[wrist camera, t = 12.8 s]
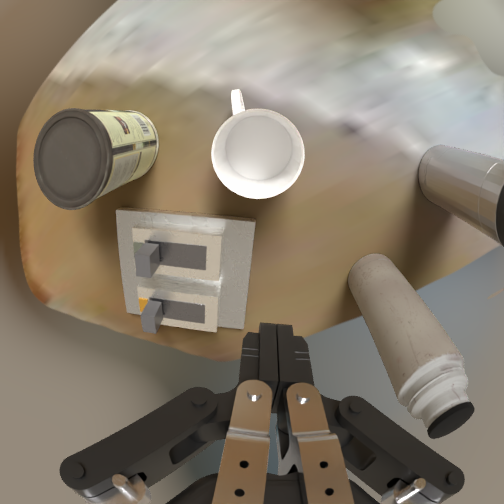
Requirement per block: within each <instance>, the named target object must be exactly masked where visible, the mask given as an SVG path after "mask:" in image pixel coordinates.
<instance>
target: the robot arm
mask: <svg viewBox="0 0 504 504" xmlns="http://www.w3.org/2000/svg"><path fill="white" fill-rule="evenodd" d="M418 175H419V184H420V188H421V190H422V192H423V194H424V195H425V197H426V198H427V199H428V200H429V201H431V202H433V203H435V204H436V205H438V206H440V207H442V208H443V209H445V210H447V211H448V212H450V213H452V214H453V215H455V216H457V217H458V218H460V219H462V220H463V221H465V222H467V223H468V224H470V225H471V226H473V227H475V228H476V229H478V230H479V231H481V232H482V233H484V234H485V235H487V236H488V237H490V238H492V239H493V240H495V241H496V242H497V243H499V244H500V245H502V246H503V247H504V160H502V159H499V158H495V157H491V156H488V155H484V154H480V153H476V152H472V151H468V150H463V149H459V148H455V147H450V146H445V145H438V146H434V147H432V148H431V149H429V150H428V151H427V152H426V154H425V155H424V156H423V158H422V160H421V163H420V167H419V174H418ZM271 413H277V423H276V427H275V429H276V439H277V448H278V457H279V468H278V475H275V474H270V473H267V465H268V455H269V444H270V436H269V426H270V415H271ZM221 439H226V440H225V445H224V450H223V455H222V459H221V464H220V469H219V473H215V474H211V475H208V476H205V477H203V478H200V479H199V480H197V481H195V482H194V483H193V484H191V485H190V486H189V487H187V488H186V489H185V490H183V491H182V492H181V493H180V494H178V495H177V496H176V497H174V498H173V499H171V500H170V501H169V502H167V503H166V504H380V503H378V502H377V501H376V500H375V499H374V498H372V497H371V496H370V495H369V494H367V493H366V492H365V491H364V490H363V489H362V488H361V487H359V486H358V485H357V484H356V483H355V482H353V481H352V480H350V479H348V475H347V471H346V468H347V469H348V470H350V471H351V472H352V473H353V474H354V475H356V476H357V477H358V478H359V479H361V480H362V481H363V482H365V483H366V484H367V485H368V486H369V487H371V488H372V489H373V490H375V491H376V492H377V493H378V494H380V495H381V496H382V498H381V504H441V503H442V502H443V501H444V500H446V499H448V498H449V497H451V496H453V495H454V494H456V493H457V492H459V491H460V490H461V489H462V487H463V485H464V480H465V479H464V474H463V472H462V471H461V469H459V468H458V467H457V466H455V465H454V464H452V463H451V462H449V461H448V460H446V459H445V458H443V457H442V456H440V455H439V454H437V453H436V452H435V451H433V450H432V449H431V448H429V447H428V446H426V445H425V444H424V443H422V442H421V441H419V440H418V439H416V438H415V437H414V436H412V435H411V434H410V433H408V432H407V431H406V430H404V429H403V428H401V427H400V426H399V425H397V424H396V423H395V422H393V421H392V420H391V419H389V418H388V417H387V416H385V415H384V414H383V413H381V412H380V411H379V410H377V409H376V408H375V407H374V406H372V405H371V404H370V403H368V402H367V401H366V400H364V399H363V398H361V397H358V396H349V397H346V398H344V399H343V400H342V401H337V400H333V399H330V398H327V397H324V396H323V395H321V394H320V393H319V391H318V390H317V388H315V386H314V382H313V375H312V369H311V363H310V357H309V350H308V345H307V343H306V341H305V340H304V339H303V337H302V336H293V328H292V325H284V324H271V323H260V326H259V333H252V332H248V333H247V335H246V336H245V337H244V339H243V345H242V354H241V364H240V374H239V382H238V385H237V386H236V387H235V388H234V389H233V390H231V391H229V392H226V393H220V394H214V393H213V392H212V391H210V390H208V389H206V388H202V387H194V388H191V389H188V390H186V391H185V392H183V393H182V394H180V395H179V396H177V397H175V398H174V399H172V400H171V401H169V402H167V403H166V404H164V405H163V406H161V407H159V408H158V409H156V410H154V411H153V412H151V413H149V414H148V415H146V416H144V417H143V418H141V419H139V420H137V421H136V422H134V423H132V424H130V425H129V426H127V427H125V428H123V429H121V430H120V431H118V432H116V433H114V434H112V435H110V436H109V437H107V438H105V439H103V440H101V441H99V442H97V443H95V444H93V445H92V446H90V447H88V448H86V449H84V450H82V451H80V452H78V453H76V454H73V455H71V456H69V457H67V458H66V459H65V460H64V461H63V462H62V464H61V466H60V476H61V478H62V480H63V481H64V482H65V484H66V485H67V486H69V487H70V488H72V489H73V490H74V492H76V493H77V494H78V495H80V496H81V497H82V498H84V500H85V501H86V503H87V504H150V502H151V492H150V490H149V487H150V486H152V485H154V484H155V483H157V482H158V481H160V480H161V479H163V478H164V477H166V476H168V475H169V474H171V473H172V472H174V471H175V470H176V469H178V468H179V467H181V466H182V465H183V464H185V463H186V462H188V461H189V460H191V459H192V458H193V457H195V456H196V455H197V454H199V453H200V452H202V451H203V450H204V449H206V448H207V447H208V446H210V445H211V444H212V443H213V442H214V441H215V440H221Z"/></svg>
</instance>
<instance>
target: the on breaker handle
mask: <svg viewBox="0 0 504 504" xmlns="http://www.w3.org/2000/svg"><path fill="white" fill-rule="evenodd" d="M134 256H135V268H136V276H138V277H145V278H152V276H153V275H154V273H155V272H156V270H157V269H158V267H159V266H160V257H159V244H152V243H144V244H143V245H142V246H141V248H140V249H139V250H138V251H137V252H136V253H135V254H134Z"/></svg>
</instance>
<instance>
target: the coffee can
mask: <svg viewBox="0 0 504 504" xmlns="http://www.w3.org/2000/svg"><path fill="white" fill-rule="evenodd" d="M158 147H159V140H158V135H157V131H156V129H155V127H154V125H153V123H152V122H151V121H150V120H149V119H148V118H147V117H146V116H145V115H143V114H142V113H140V112H136V111H131V110H127V111H120V110H82V109H76V108H71V109H65V110H62V111H60V112H58V113H56V114H55V115H53V116H52V117H51V118H50V119H49V120H48V121H47V122H46V123H45V125H44V126H43V128H42V129H41V131H40V133H39V135H38V138H37V141H36V144H35V149H34V171H35V176H36V179H37V182H38V184H39V186H40V189H41V190H42V192H43V194H44V195H45V196H46V197H47V199H48V200H49V201H51V202H52V203H53V204H54V205H56V206H58V207H60V208H62V209H67V210H76V209H81V208H83V207H85V206H87V205H89V204H90V203H92V202H93V201H94V200H95V199H97V198H99V197H101V196H103V195H104V194H106V193H108V192H110V191H112V190H114V189H116V188H118V187H120V186H122V185H124V184H126V183H128V182H130V181H132V180H135V179H137V178H139V177H141V176H143V175H144V174H145V173H146V172H147V171H148V170H149V169H150V168H151V167H152V165H153V163H154V161H155V160H156V156H157V153H158Z"/></svg>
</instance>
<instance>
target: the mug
mask: <svg viewBox="0 0 504 504" xmlns="http://www.w3.org/2000/svg"><path fill="white" fill-rule="evenodd" d="M231 99H232V108H233V116H232V117H230V118H229V119H228V120H226V121H225V122H224V123H223V125H222V126H221V127H220V128H219V130H218V132H217V133H216V135H215V138H214V141H213V144H212V152H211V155H212V163H213V166H214V170H215V172H216V174H217V176H218V178H219V179H220V180H221V181H222V183H223V184H224V185H225V186H226V187H228V188H229V189H230V190H231V191H233V192H235V193H236V194H238V195H241V196H244V197H247V198H254V199H263V198H269V197H273V196H276V195H278V194H280V193H282V192H284V191H285V190H286V189H288V188H289V187H290V186H291V185H292V184H293V183H294V182H295V181H296V179H297V178H298V176H299V175H300V172H301V170H302V167H303V163H304V158H305V153H304V145H303V140H302V138H301V136H300V134H299V131H298V130H297V129H296V127H295V126H294V125H293V123H291V122H290V121H289V120H288V119H287V118H286V117H284V116H282V115H281V114H279V113H277V112H274V111H271V110H267V109H249V110H245V108H244V103H243V98H242V94H241V91H240V89H237V90H232V93H231Z"/></svg>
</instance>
